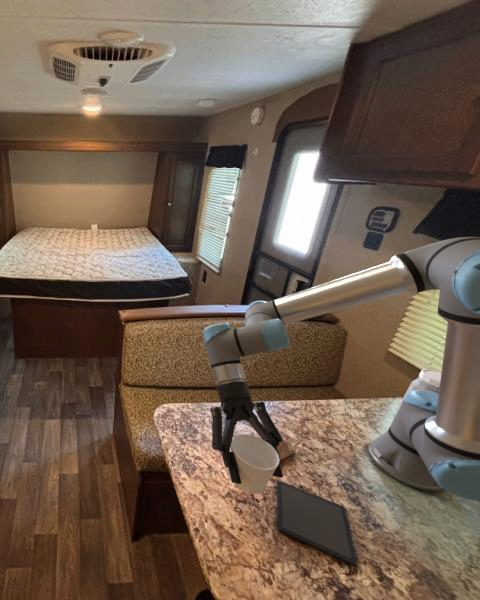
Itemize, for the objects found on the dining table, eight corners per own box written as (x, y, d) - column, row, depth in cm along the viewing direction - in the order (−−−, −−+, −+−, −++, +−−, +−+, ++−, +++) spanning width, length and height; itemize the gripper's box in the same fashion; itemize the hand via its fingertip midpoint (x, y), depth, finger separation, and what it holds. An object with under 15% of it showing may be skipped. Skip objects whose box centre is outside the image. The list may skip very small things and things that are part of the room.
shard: (271, 468, 85) (273, 463, 85) (246, 447, 92) (248, 443, 91) (295, 454, 90) (297, 449, 89) (270, 435, 96) (272, 430, 96)
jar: (444, 436, 97) (474, 389, 90) (406, 429, 100) (432, 383, 93) (422, 414, 106) (448, 370, 99) (388, 408, 108) (410, 364, 101)
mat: (343, 508, 76) (344, 506, 76) (356, 567, 64) (357, 565, 64) (276, 481, 82) (277, 479, 82) (278, 531, 71) (279, 529, 70)
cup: (277, 498, 74) (289, 468, 70) (236, 500, 73) (246, 470, 69) (253, 461, 83) (262, 433, 79) (216, 463, 82) (224, 435, 78)
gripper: (260, 381, 87) (288, 471, 79) (184, 388, 83) (205, 483, 75) (279, 376, 80) (312, 475, 72) (197, 384, 77) (222, 489, 68)
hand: (257, 479), depth 74 cm, fingers closed on cup, 10 cm apart
